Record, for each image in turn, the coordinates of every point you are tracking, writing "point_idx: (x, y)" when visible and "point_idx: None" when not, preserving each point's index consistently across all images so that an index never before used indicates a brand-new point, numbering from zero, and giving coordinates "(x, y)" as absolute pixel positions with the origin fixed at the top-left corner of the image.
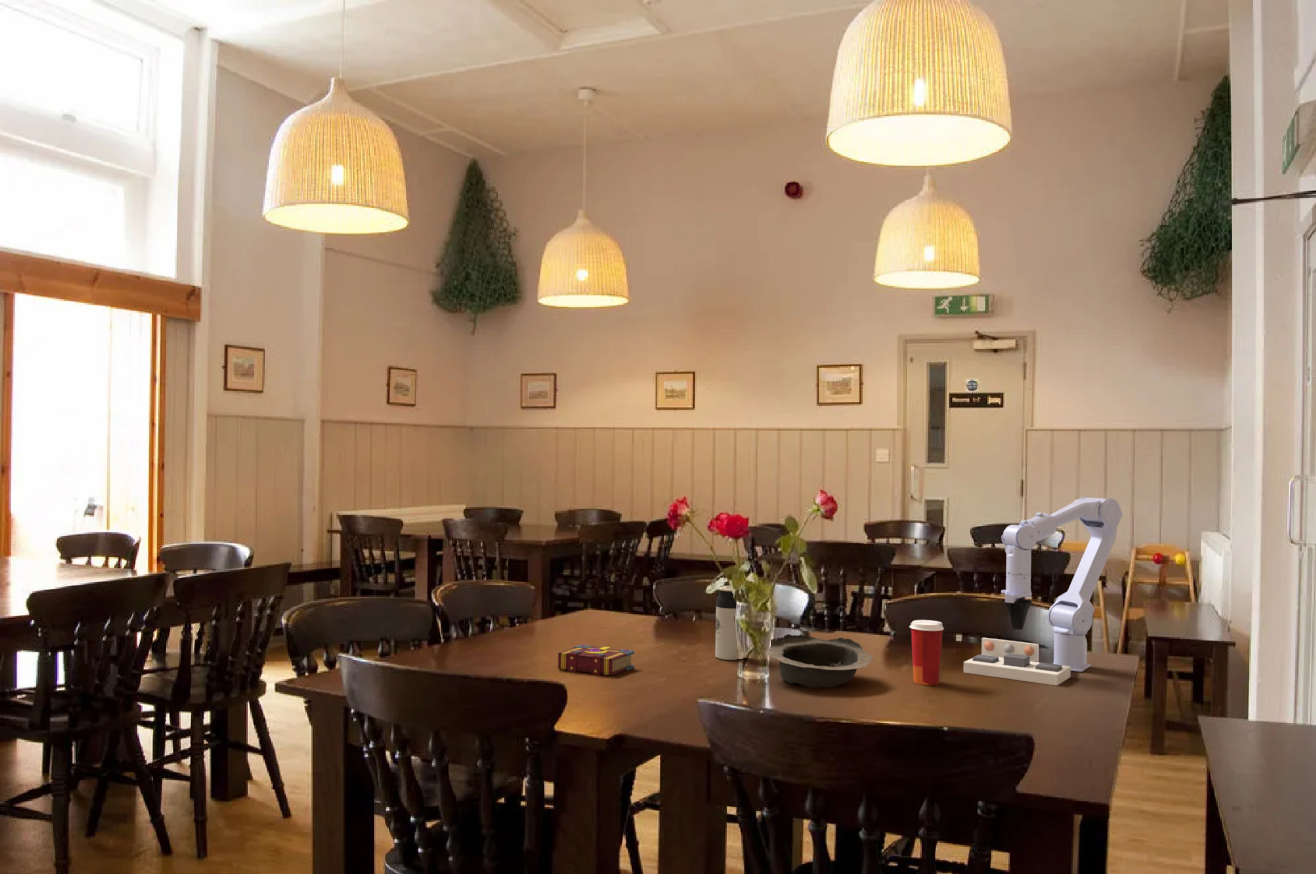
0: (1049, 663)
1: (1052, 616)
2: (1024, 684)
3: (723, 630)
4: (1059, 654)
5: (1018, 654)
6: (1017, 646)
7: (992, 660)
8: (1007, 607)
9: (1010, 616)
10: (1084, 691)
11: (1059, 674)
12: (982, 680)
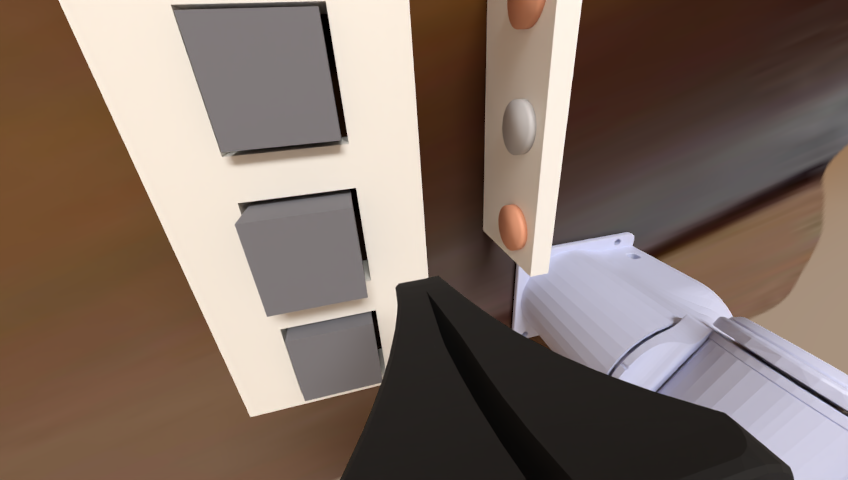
0: (376, 349)
1: (749, 385)
2: (164, 322)
3: None
4: (552, 307)
5: (359, 250)
6: (526, 176)
7: (222, 151)
8: (346, 473)
9: (389, 355)
10: (258, 447)
11: (282, 406)
12: (26, 175)
